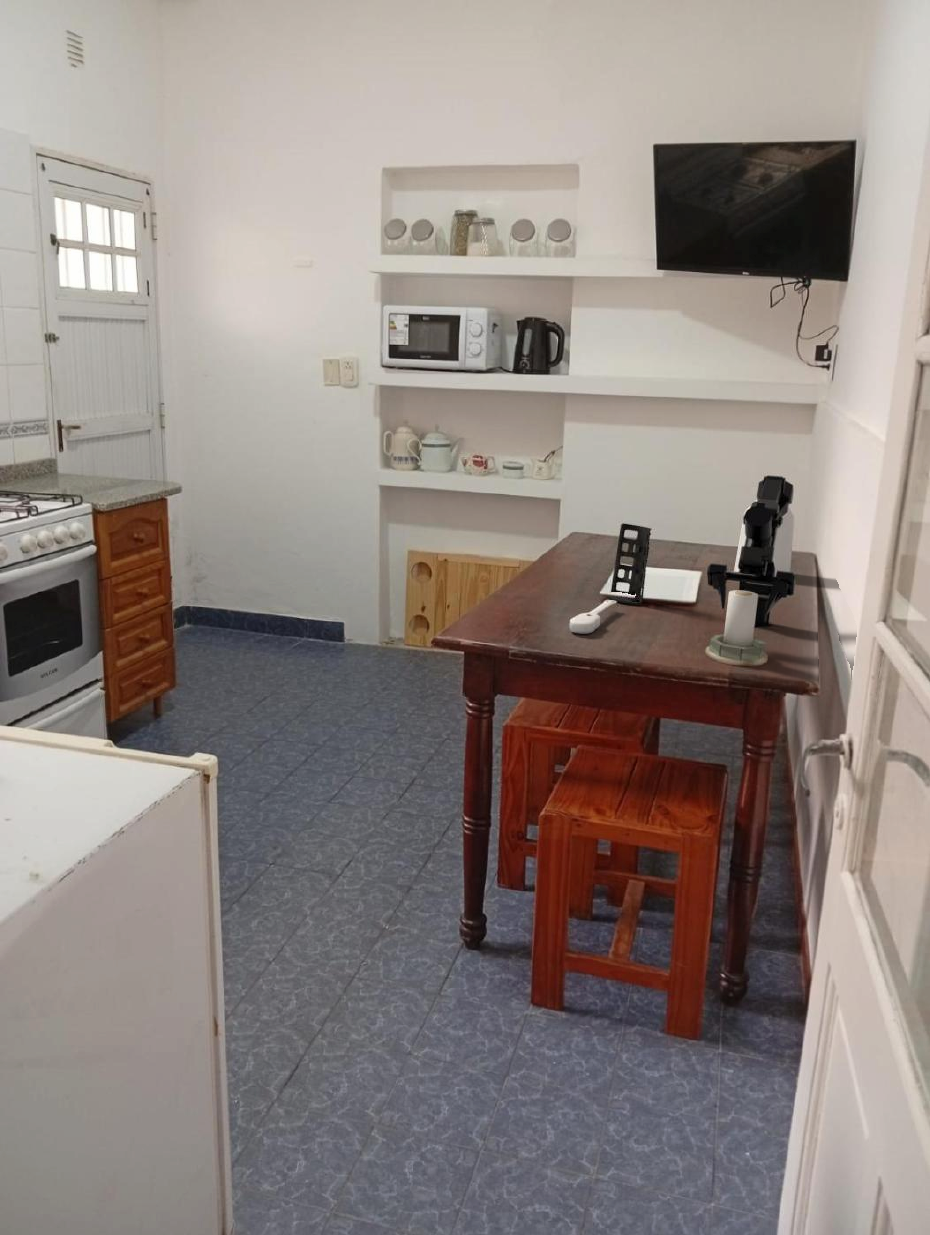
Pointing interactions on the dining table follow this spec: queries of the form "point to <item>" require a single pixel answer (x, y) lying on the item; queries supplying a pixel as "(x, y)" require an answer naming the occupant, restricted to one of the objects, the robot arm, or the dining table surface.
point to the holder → (638, 563)
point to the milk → (781, 544)
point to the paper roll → (740, 618)
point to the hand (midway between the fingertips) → (744, 610)
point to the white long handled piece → (589, 619)
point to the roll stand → (736, 652)
